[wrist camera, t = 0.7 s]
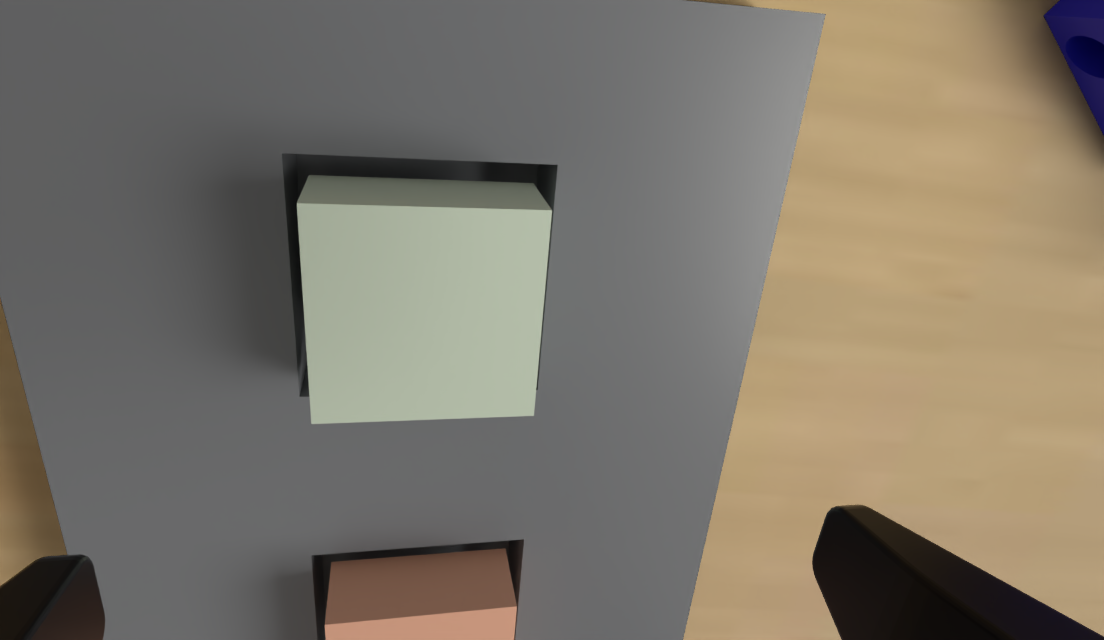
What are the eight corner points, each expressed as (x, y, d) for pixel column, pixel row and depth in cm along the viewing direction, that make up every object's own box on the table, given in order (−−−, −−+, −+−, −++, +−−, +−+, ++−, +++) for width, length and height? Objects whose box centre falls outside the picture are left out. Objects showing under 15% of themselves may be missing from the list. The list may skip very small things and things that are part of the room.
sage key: (518, 369, 17) (534, 415, 15) (320, 374, 16) (311, 423, 14) (533, 182, 15) (552, 210, 13) (308, 174, 14) (296, 203, 12)
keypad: (603, 818, 30) (624, 898, 28) (200, 885, 27) (179, 984, 24) (758, 8, 17) (825, 13, 14) (-2, -66, 14) (-98, -77, 11)
